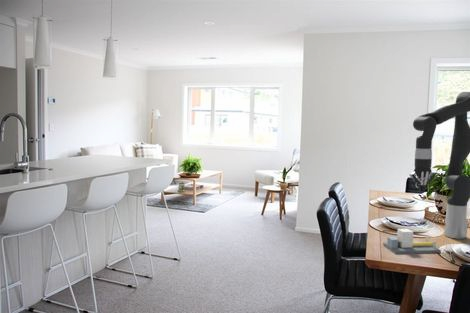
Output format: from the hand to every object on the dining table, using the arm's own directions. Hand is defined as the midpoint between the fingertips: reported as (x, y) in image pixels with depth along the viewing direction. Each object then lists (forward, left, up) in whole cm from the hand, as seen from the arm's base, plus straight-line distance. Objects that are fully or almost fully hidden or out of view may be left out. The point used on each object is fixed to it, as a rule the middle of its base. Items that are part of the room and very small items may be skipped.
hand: (421, 192), depth 202 cm
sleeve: (+13, +10, -23) cm, 29 cm away
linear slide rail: (+10, +10, -25) cm, 29 cm away
